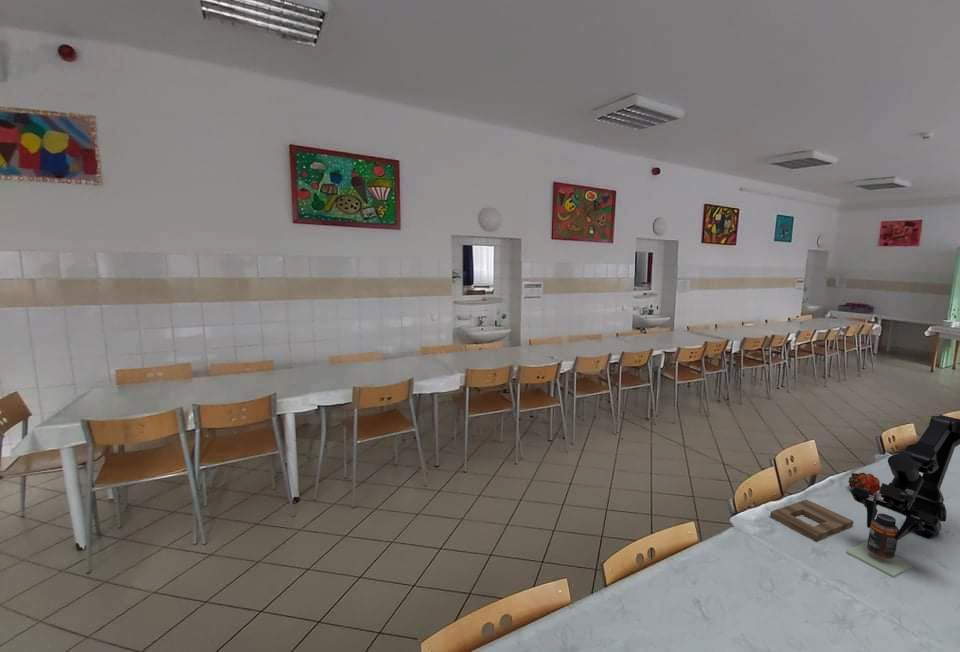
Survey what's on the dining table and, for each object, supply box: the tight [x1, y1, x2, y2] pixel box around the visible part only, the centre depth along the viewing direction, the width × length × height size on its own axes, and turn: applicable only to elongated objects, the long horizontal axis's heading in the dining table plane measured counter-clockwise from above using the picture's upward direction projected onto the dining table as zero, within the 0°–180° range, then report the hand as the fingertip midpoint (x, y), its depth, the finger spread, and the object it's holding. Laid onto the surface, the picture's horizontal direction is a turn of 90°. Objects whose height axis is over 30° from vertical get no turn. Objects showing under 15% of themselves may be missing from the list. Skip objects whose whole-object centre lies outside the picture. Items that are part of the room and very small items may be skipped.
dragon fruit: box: [847, 472, 881, 496], centre depth 160 cm, size 8×8×12 cm
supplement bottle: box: [867, 512, 900, 559], centre depth 123 cm, size 6×6×11 cm
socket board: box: [769, 499, 854, 543], centre depth 142 cm, size 20×14×2 cm
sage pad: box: [845, 541, 915, 578], centre depth 124 cm, size 11×11×1 cm
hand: (881, 533), depth 122 cm, fingers closed on supplement bottle, 6 cm apart
